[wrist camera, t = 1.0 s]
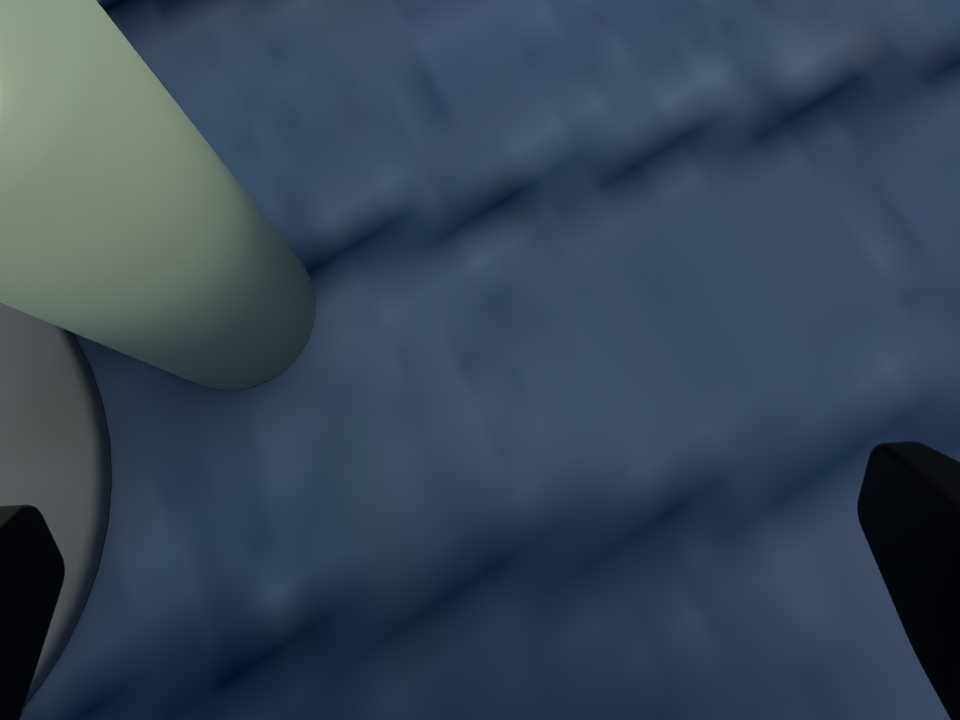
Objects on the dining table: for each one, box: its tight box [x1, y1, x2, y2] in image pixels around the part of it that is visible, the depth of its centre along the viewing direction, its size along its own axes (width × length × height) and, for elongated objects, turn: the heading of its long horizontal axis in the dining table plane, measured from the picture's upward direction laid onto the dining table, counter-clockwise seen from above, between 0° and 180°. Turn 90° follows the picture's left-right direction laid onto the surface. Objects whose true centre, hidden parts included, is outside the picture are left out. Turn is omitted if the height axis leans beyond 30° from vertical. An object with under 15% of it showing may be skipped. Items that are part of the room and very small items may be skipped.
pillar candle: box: [0, 0, 316, 390], centre depth 16 cm, size 5×5×14 cm
